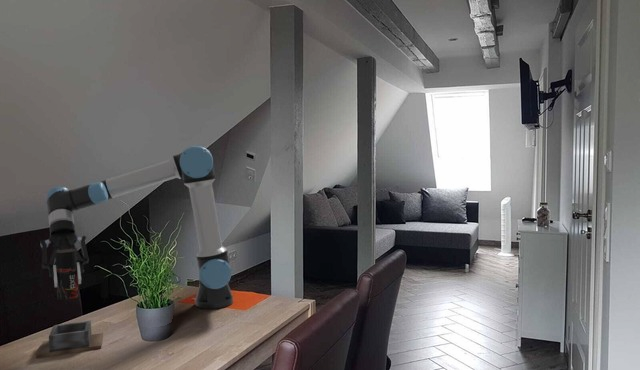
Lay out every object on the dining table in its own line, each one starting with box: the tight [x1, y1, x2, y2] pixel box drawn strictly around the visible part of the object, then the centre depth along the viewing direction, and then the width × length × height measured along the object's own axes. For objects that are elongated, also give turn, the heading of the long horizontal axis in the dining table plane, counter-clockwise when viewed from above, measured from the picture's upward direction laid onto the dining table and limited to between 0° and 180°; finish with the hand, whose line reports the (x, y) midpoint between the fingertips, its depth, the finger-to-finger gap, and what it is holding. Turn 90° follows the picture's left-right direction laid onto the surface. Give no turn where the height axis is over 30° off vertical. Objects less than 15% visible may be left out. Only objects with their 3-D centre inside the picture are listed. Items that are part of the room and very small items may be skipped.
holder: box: [35, 320, 104, 359], centre depth 156 cm, size 18×12×6 cm, turn 111°
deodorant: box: [55, 249, 79, 301], centre depth 155 cm, size 6×6×15 cm
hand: (68, 283), depth 152 cm, fingers closed on deodorant, 6 cm apart
